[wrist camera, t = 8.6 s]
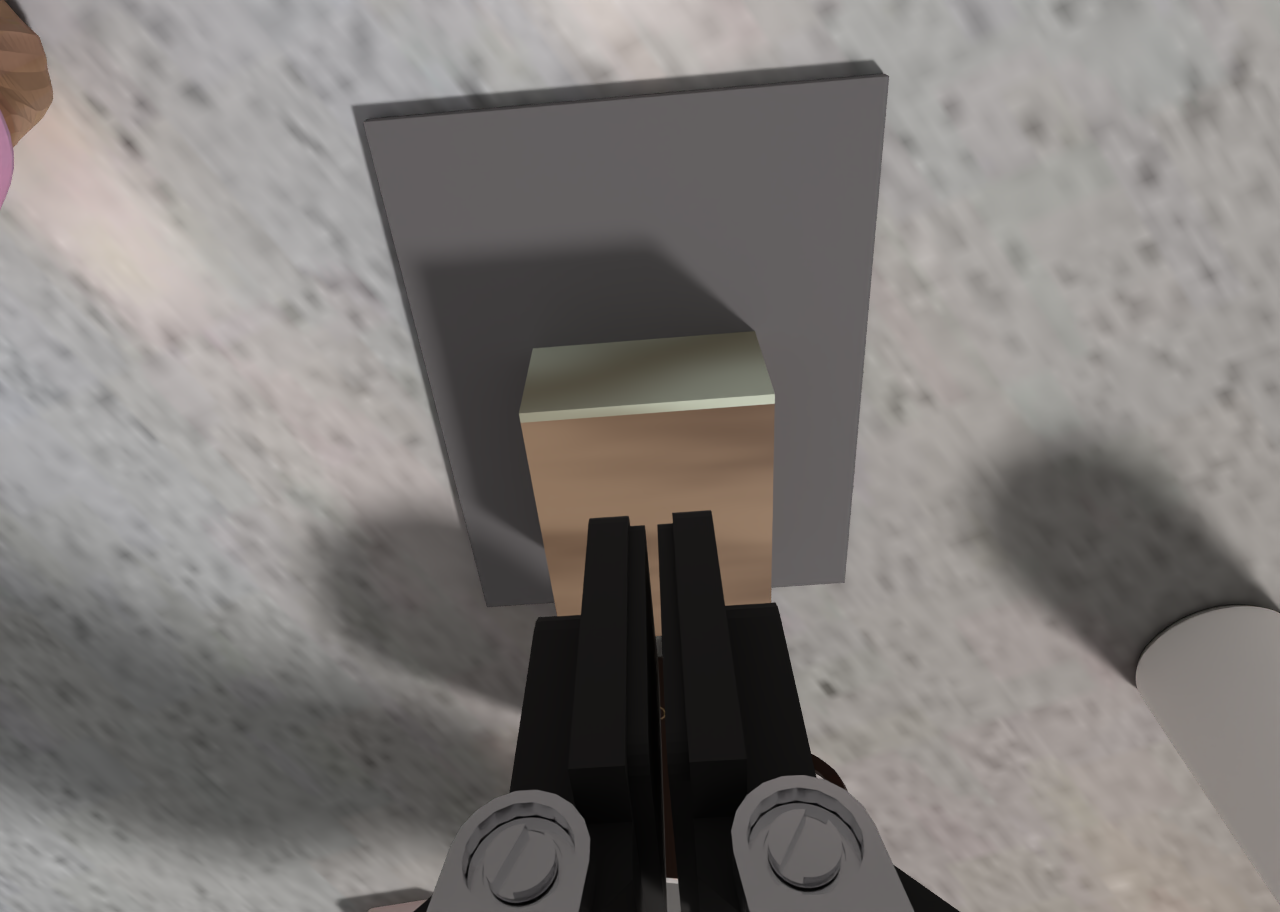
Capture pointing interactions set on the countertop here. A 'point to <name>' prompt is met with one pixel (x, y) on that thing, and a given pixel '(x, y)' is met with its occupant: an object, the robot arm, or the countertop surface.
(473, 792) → the countertop surface
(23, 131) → the cupcake
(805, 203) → the rubber mat
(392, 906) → the soap bar
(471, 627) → the countertop surface
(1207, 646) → the can
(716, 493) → the walnut block
